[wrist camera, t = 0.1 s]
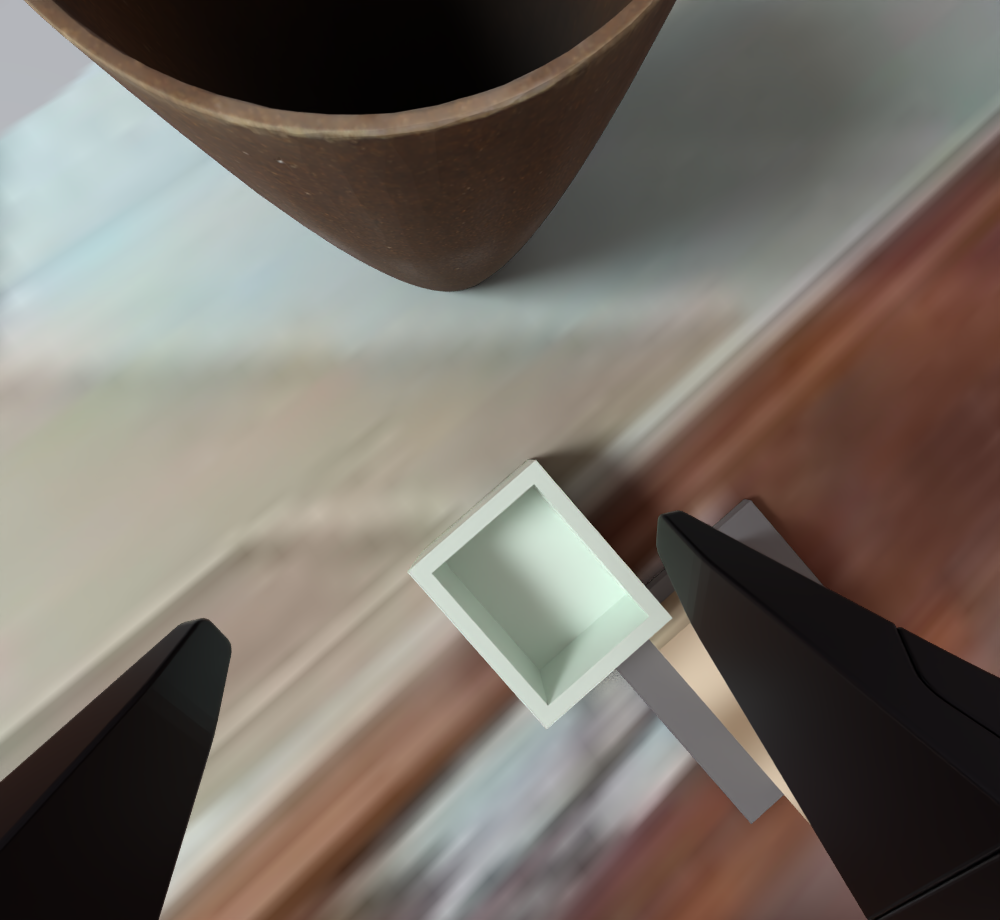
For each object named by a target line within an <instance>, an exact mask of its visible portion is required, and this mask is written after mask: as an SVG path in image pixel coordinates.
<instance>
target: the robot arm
mask: <svg viewBox="0 0 1000 920" xmlns="http://www.w3.org/2000/svg"><path fill="white" fill-rule="evenodd" d="M656 545H657V550H658V554H659V556H660V558H661V560H662V563H663V565H664V567H665V569H666V571H667V573H668V576H669V578H670V580H671V582H672V584H673V586H674V589H675V591H676V593H677V595H678V597H679V599H680V602H681V604H682V606H683V608H684V610H685V612H686V615H687V617H688V619H689V621H690V623H691V625H692V627H693V628H694V630H695V632H696V634H697V635H698V637H699V639H700V641H701V642H702V644H703V646H704V647H705V649H706V651H707V652H708V654H709V656H710V657H711V659H712V661H713V662H714V664H715V666H716V667H717V669H718V671H719V672H720V674H721V676H722V677H723V679H724V681H725V682H726V684H727V686H728V687H729V689H730V691H731V692H732V694H733V696H734V697H735V699H736V701H737V702H738V704H739V706H740V707H741V709H742V711H743V712H744V714H745V716H746V717H747V719H748V721H749V722H750V724H751V726H752V728H753V729H754V731H755V733H756V734H757V736H758V738H759V739H760V741H761V743H762V744H763V746H764V748H765V749H766V751H767V753H768V754H769V756H770V758H771V759H772V761H773V763H774V764H775V766H776V768H777V769H778V771H779V773H780V774H781V776H782V778H783V779H784V781H785V783H786V784H787V786H788V788H789V789H790V791H791V793H792V794H793V796H794V798H795V799H796V801H797V803H798V804H799V806H800V808H801V809H802V811H803V813H804V814H805V816H806V818H807V819H808V821H809V823H810V824H811V826H812V828H813V830H814V831H815V833H816V835H817V836H818V838H819V840H820V841H821V843H822V845H823V846H824V848H825V850H826V851H827V853H828V855H829V856H830V858H831V860H832V861H833V863H834V865H835V866H836V868H837V870H838V871H839V873H840V875H841V876H842V878H843V880H844V881H845V883H846V885H847V886H848V888H849V890H850V891H851V893H852V895H853V896H854V898H855V900H856V901H857V903H858V905H859V906H860V908H861V910H862V911H863V913H864V915H865V916H866V918H867V919H868V920H1000V678H999V677H997V676H995V675H993V674H991V673H989V672H987V671H985V670H983V669H981V668H979V667H977V666H975V665H973V664H971V663H969V662H967V661H965V660H963V659H961V658H959V657H957V656H955V655H953V654H951V653H949V652H947V651H946V650H944V649H942V648H940V647H938V646H936V645H934V644H932V643H930V642H928V641H926V640H924V639H922V638H921V637H919V636H917V635H915V634H913V633H911V632H909V631H907V630H906V629H904V628H901V627H897V628H896V626H895V624H894V623H892V622H890V621H888V620H886V619H884V618H883V617H881V616H879V615H877V614H875V613H873V612H871V611H869V610H868V609H866V608H864V607H862V606H860V605H858V604H856V603H854V602H852V601H851V600H849V599H847V598H845V597H843V596H841V595H839V594H837V593H836V592H834V591H832V590H830V589H828V588H826V587H824V586H822V585H820V584H819V583H817V582H815V581H813V580H811V579H809V578H807V577H805V576H804V575H802V574H800V573H798V572H796V571H794V570H792V569H790V568H789V567H787V566H785V565H783V564H781V563H779V562H777V561H775V560H773V559H772V558H770V557H768V556H766V555H764V554H762V553H760V552H758V551H757V550H755V549H753V548H751V547H749V546H747V545H745V544H743V543H741V542H740V541H738V540H736V539H734V538H732V537H730V536H728V535H726V534H725V533H723V532H721V531H719V530H717V529H715V528H713V527H711V526H709V525H708V524H706V523H704V522H702V521H700V520H698V519H696V518H694V517H693V516H691V515H689V514H687V513H685V512H683V511H673V512H668V513H664V514H661V515H660V516H659V518H658V525H657V541H656ZM230 658H231V644H230V642H229V640H228V639H227V638H226V637H225V636H224V635H223V634H222V632H221V631H220V630H219V629H218V628H217V627H216V626H215V625H214V624H213V623H212V622H211V621H210V620H208V619H205V618H201V619H196V620H192V621H187V622H184V623H181V624H180V625H178V626H177V627H176V628H175V629H174V630H172V631H171V632H170V633H169V634H168V635H167V636H166V637H164V638H163V639H162V640H161V641H160V642H159V643H158V644H156V645H155V646H154V647H153V648H152V649H151V650H150V651H149V652H147V653H146V654H145V655H144V656H143V657H142V658H141V659H139V660H138V661H137V662H136V663H135V664H134V665H133V666H131V667H130V668H129V669H128V670H127V671H126V672H125V673H124V674H122V675H121V676H120V677H119V678H118V679H117V680H116V681H114V682H113V683H112V684H111V685H110V686H109V687H108V688H107V689H105V690H104V691H103V692H102V693H101V694H100V695H99V696H97V697H96V698H95V699H94V700H93V701H92V702H91V703H89V704H88V705H87V706H86V707H85V708H84V709H83V710H82V711H80V712H79V713H78V714H77V715H76V716H75V717H74V718H72V719H71V720H70V721H69V722H68V723H67V724H66V725H64V726H63V727H62V728H61V729H60V730H59V731H58V732H57V733H55V734H54V735H53V736H52V737H51V738H50V739H49V740H47V741H46V742H45V743H44V744H43V745H42V746H41V747H40V748H38V749H37V750H36V751H35V752H34V753H33V754H32V755H30V756H29V757H28V758H27V759H26V760H25V761H24V762H22V763H21V764H20V765H19V766H18V767H17V768H16V769H15V770H13V771H12V772H11V773H10V774H9V775H8V776H7V777H5V778H4V779H3V780H2V781H1V782H0V920H159V917H160V914H161V910H162V907H163V904H164V900H165V897H166V894H167V891H168V887H169V884H170V881H171V877H172V874H173V871H174V868H175V864H176V861H177V858H178V854H179V851H180V848H181V844H182V841H183V838H184V835H185V831H186V828H187V825H188V821H189V818H190V815H191V812H192V808H193V805H194V802H195V798H196V795H197V792H198V789H199V785H200V782H201V779H202V775H203V772H204V769H205V766H206V762H207V759H208V756H209V752H210V749H211V745H212V742H213V738H214V734H215V730H216V726H217V721H218V716H219V711H220V707H221V702H222V697H223V692H224V687H225V682H226V677H227V672H228V667H229V663H230Z"/></svg>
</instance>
